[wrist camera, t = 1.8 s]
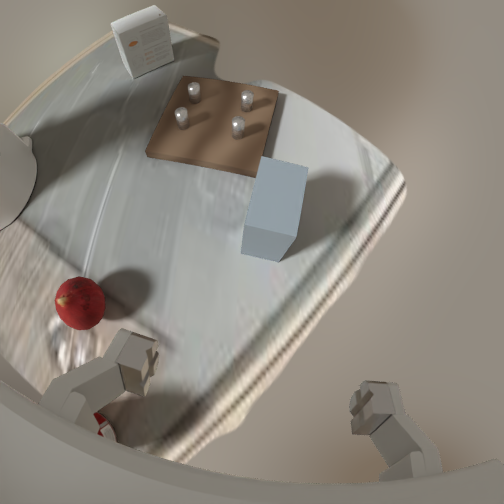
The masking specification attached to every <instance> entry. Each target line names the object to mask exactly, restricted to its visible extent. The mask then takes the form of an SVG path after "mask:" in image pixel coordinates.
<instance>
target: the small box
mask: <svg viewBox="0 0 504 504" xmlns="http://www.w3.org/2000/svg"><path fill="white" fill-rule="evenodd" d="M111 26H112V30H113V33H114V36H115V39H116V42H117V45H118V48H119V51H120V54H121V57H122V60H123V63H124V65H125V67H126V69H127V70H128V72H129V73H130V75H131V76H132V78H133V79H135V78H137V77H139V76H141V75H143V74H145V73H147V72H149V71H151V70H153V69H156V68H158V67H160V66H162V65H165V64H167V63H169V62H171V61H174V55H173V49H172V44H171V38H170V31H169V25H168V19H167V15H166V14H165V13H164V12H162V11H161V10H160V9H159V8H158V7H156V6H155V5H153V6H151V7H148V8H145V9H143V10H140V11H138V12H135V13H133V14H130V15H128V16H126V17H123V18H121V19H119V20H117V21H114V22H112V23H111Z"/></svg>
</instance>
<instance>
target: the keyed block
mask: <svg viewBox="0 0 504 504" xmlns="http://www.w3.org/2000/svg"><path fill="white" fill-rule="evenodd" d="M307 173H308V167H304V166H300V165H296V164H292V163H288V162H284V161H280V160H276V159H272V158H267V157H263V156H261V160H260V164H259V168H258V172H257V176H256V180H255V184H254V188H253V192H252V196H251V200H250V204H249V208H248V212H247V216H246V220H245V224H244V231H243V239H242V247H241V254H245V255H250V256H254V257H258V258H262V259H267V260H271V261H275V262H279V261H280V260H281V258H282V257H283V255H284V254H285V253H286V251H287V250H288V248H289V247H290V246H291V244H292V243H293V241H294V240H295V239H296V237H297V232H298V226H299V221H300V215H301V209H302V203H303V198H304V192H305V186H306V180H307Z"/></svg>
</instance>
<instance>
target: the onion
mask: <svg viewBox="0 0 504 504" xmlns="http://www.w3.org/2000/svg"><path fill="white" fill-rule="evenodd" d="M55 305H56V310H57V312H58V314H59V316H60V318H61V319H62V320H63V321H64V322H65V323H66V324H67V325H68V326H70V327H72V328H74V329H77V330H88V329H90V328H92V327H94V326H95V325H97V324H98V323H99V322H100V320H101V319H102V317H103V315H104V311H105V297H104V294H103V292H102V289H101V288H100V287H99V286H98V285H97V284H96V283H95V282H94V281H93V280H91V279H88V278H84V277H75V278H72V279H68V280H67V281H66V282H64V283H63V284H62V285H61V286H60V288H59V289H58V291H57V294H56V298H55Z"/></svg>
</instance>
